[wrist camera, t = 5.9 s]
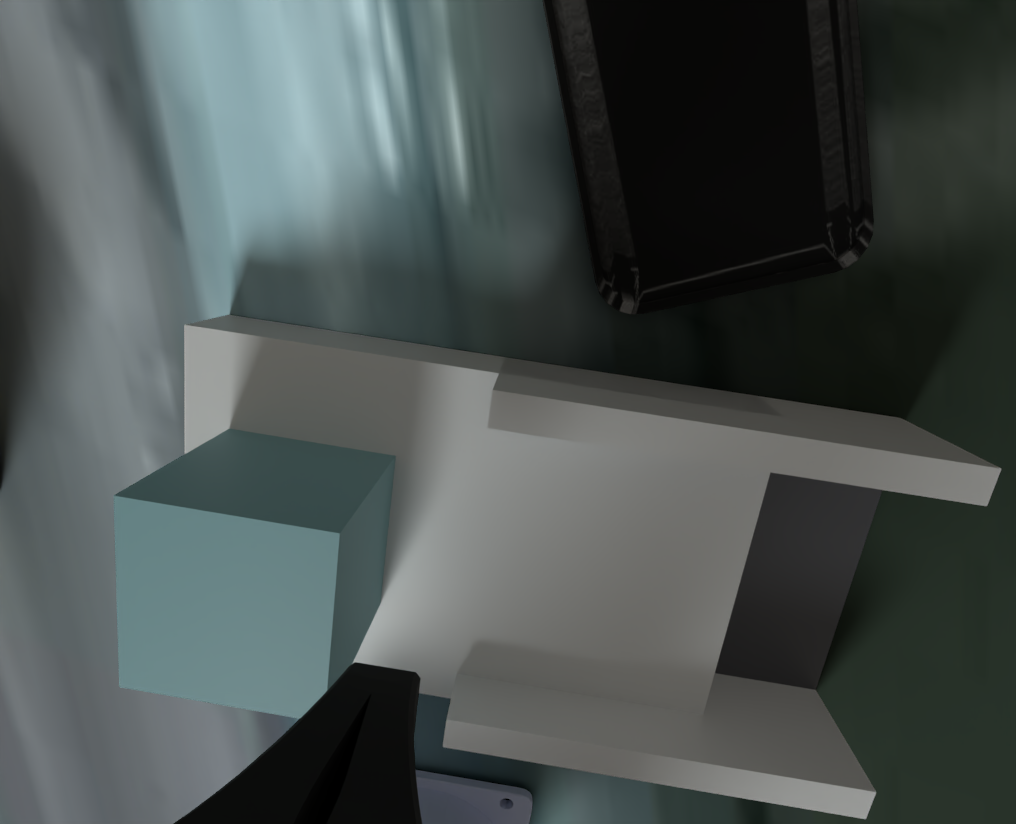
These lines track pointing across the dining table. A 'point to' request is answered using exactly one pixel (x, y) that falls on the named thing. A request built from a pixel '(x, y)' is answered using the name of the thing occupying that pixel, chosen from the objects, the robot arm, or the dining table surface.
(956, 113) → the dining table surface
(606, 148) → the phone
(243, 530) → the teal block
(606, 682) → the grey channel
